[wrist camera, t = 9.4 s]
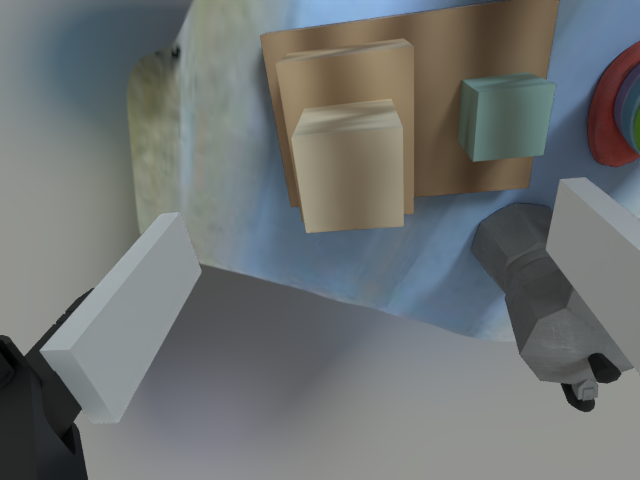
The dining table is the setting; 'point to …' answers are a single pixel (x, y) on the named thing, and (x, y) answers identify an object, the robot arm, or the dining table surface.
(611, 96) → the stacking bear
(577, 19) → the dining table surface
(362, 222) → the oak block
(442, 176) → the base
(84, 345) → the robot arm
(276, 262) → the dining table surface
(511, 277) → the coffeepot
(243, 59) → the dining table surface
